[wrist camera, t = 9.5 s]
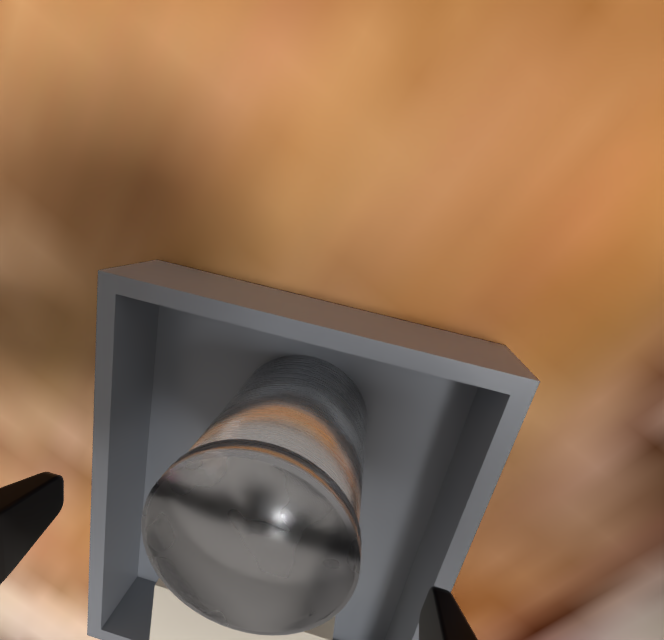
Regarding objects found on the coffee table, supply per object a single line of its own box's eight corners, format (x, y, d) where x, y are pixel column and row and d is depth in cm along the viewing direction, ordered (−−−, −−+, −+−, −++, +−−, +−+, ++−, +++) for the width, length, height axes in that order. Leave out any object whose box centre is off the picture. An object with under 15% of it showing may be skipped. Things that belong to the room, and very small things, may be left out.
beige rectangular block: (345, 535, 15) (332, 640, 12) (321, 619, 17) (302, 736, 13) (210, 496, 16) (154, 584, 12) (197, 581, 17) (144, 683, 13)
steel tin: (352, 488, 15) (333, 660, 9) (229, 454, 15) (135, 599, 9) (385, 372, 13) (386, 491, 7) (247, 337, 14) (148, 425, 8)
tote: (505, 345, 13) (539, 381, 10) (389, 650, 18) (390, 734, 15) (156, 259, 14) (98, 270, 11) (133, 570, 19) (87, 635, 16)
